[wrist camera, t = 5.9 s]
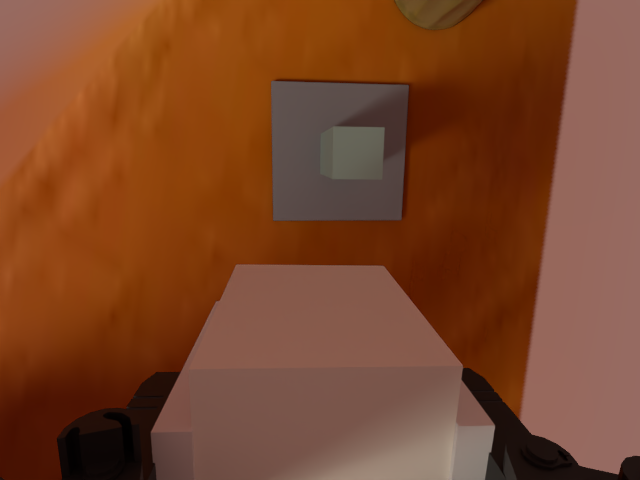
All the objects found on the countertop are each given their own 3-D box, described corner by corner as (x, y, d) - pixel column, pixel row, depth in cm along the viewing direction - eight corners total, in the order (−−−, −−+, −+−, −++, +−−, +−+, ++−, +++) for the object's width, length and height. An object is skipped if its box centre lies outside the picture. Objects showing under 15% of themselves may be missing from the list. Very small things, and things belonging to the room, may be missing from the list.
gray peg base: (273, 219, 27) (270, 240, 20) (271, 82, 25) (267, 54, 18) (399, 219, 28) (437, 239, 21) (406, 86, 26) (451, 61, 19)
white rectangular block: (238, 396, 15) (199, 587, 8) (236, 264, 14) (188, 369, 7) (374, 393, 15) (436, 574, 9) (383, 265, 14) (462, 365, 8)
